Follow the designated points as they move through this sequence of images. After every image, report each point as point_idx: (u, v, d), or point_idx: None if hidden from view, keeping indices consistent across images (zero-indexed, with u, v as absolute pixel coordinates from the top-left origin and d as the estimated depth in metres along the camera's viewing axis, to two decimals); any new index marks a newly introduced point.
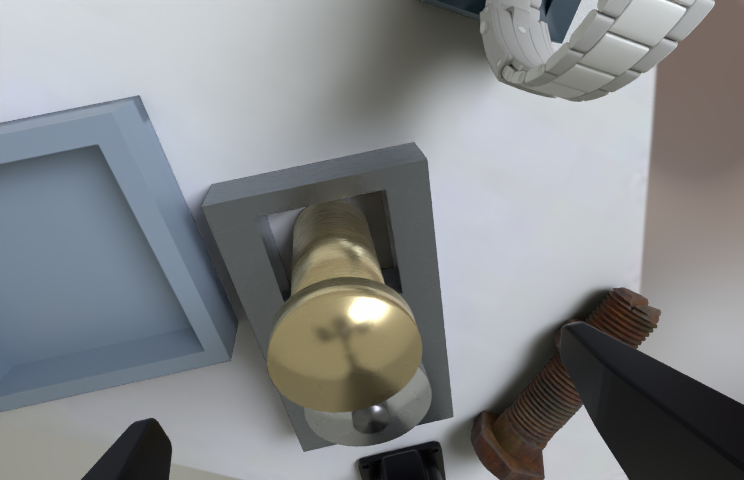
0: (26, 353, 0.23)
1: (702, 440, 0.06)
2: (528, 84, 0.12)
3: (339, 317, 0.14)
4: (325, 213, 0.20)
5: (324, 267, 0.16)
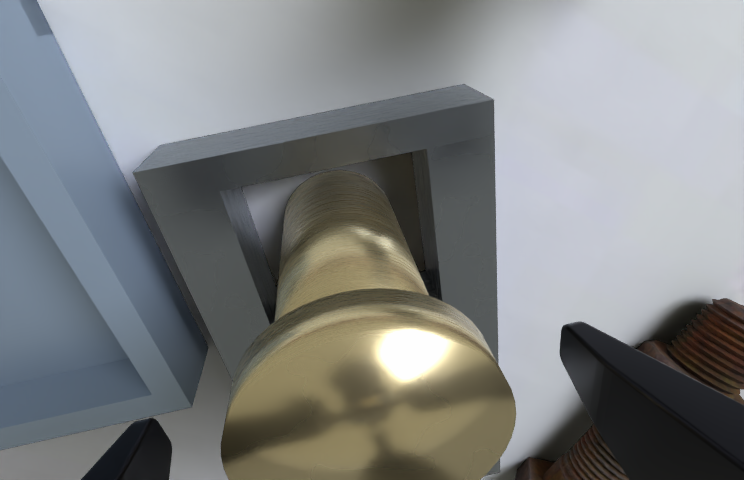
0: None
1: (702, 440, 0.06)
2: None
3: (364, 371, 0.07)
4: (331, 189, 0.13)
5: (332, 270, 0.09)
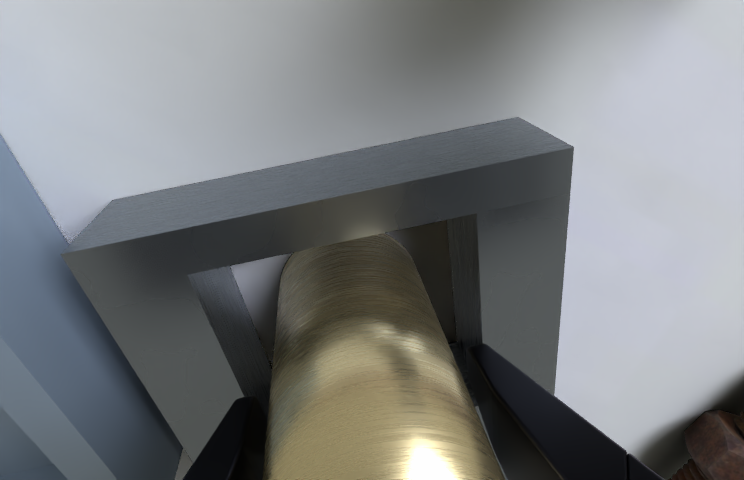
0: None
1: (558, 475, 0.06)
2: None
3: None
4: (342, 260, 0.10)
5: (351, 434, 0.06)
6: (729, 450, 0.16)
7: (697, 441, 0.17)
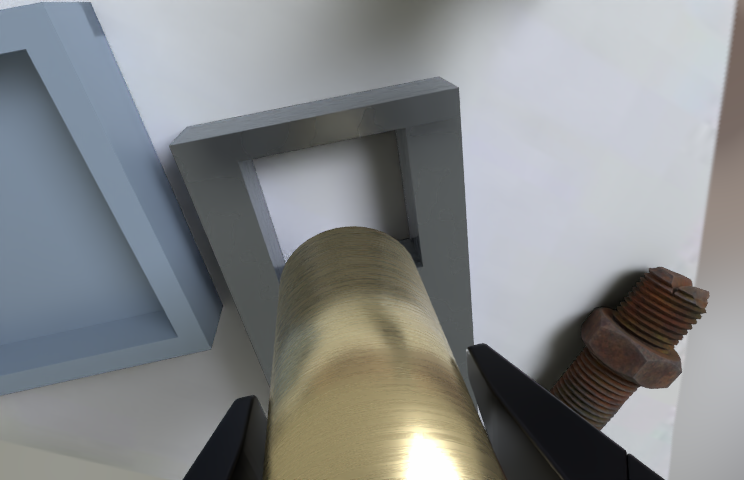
0: None
1: (558, 475, 0.06)
2: None
3: None
4: (342, 259, 0.10)
5: (350, 433, 0.06)
6: (602, 327, 0.22)
7: (587, 328, 0.24)
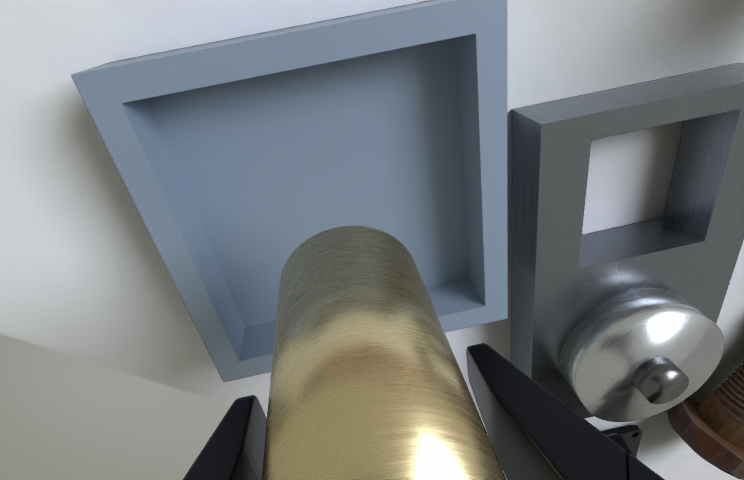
0: (264, 312, 0.20)
1: (558, 475, 0.06)
2: None
3: None
4: (342, 258, 0.10)
5: (350, 433, 0.06)
6: None
7: None
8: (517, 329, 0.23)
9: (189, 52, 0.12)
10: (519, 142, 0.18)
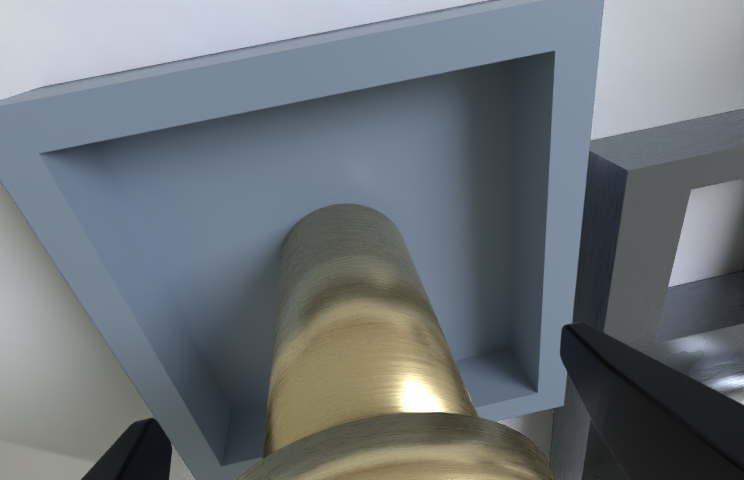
0: (255, 393, 0.16)
1: (702, 440, 0.06)
2: None
3: None
4: (336, 229, 0.11)
5: (341, 357, 0.07)
6: None
7: None
8: (565, 402, 0.19)
9: (136, 80, 0.08)
10: (586, 187, 0.14)
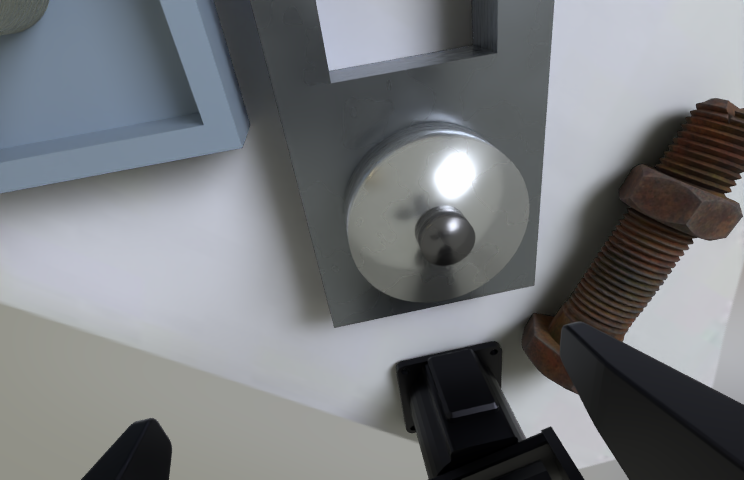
0: None
1: (702, 440, 0.06)
2: None
3: None
4: None
5: None
6: (645, 177, 0.19)
7: (626, 188, 0.21)
8: None
9: None
10: None
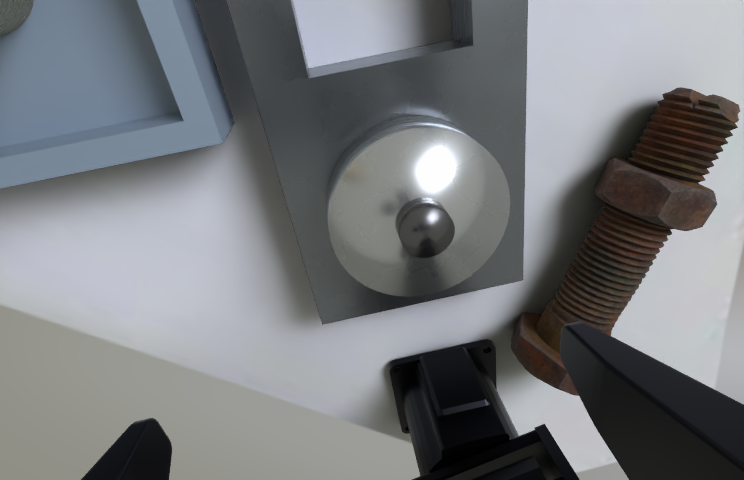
0: None
1: (702, 440, 0.06)
2: None
3: None
4: None
5: None
6: (615, 171, 0.19)
7: (600, 182, 0.21)
8: None
9: None
10: None
